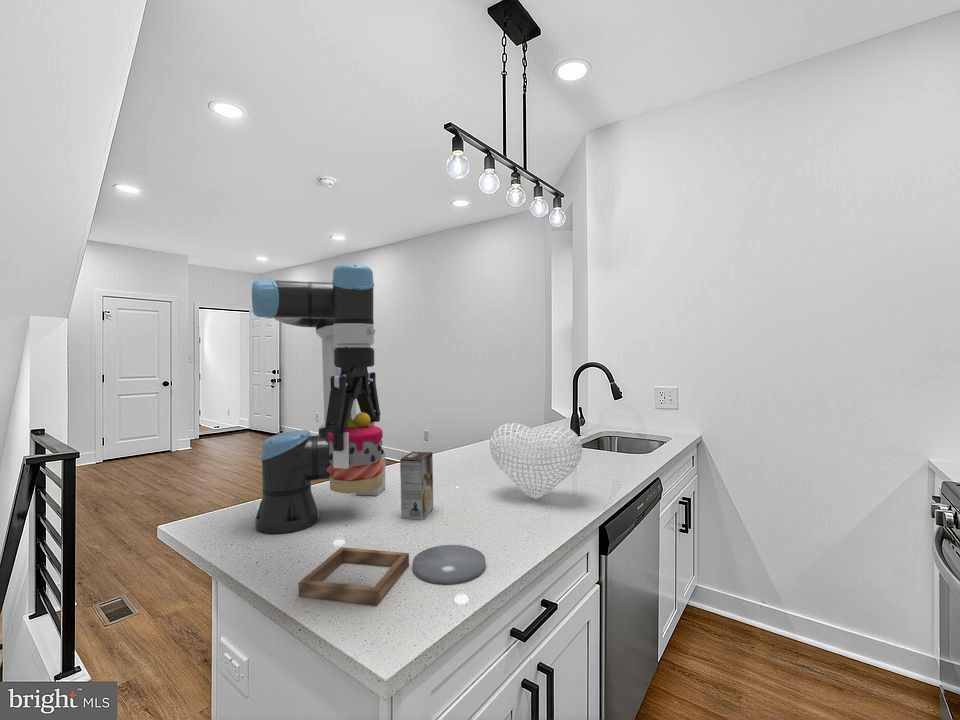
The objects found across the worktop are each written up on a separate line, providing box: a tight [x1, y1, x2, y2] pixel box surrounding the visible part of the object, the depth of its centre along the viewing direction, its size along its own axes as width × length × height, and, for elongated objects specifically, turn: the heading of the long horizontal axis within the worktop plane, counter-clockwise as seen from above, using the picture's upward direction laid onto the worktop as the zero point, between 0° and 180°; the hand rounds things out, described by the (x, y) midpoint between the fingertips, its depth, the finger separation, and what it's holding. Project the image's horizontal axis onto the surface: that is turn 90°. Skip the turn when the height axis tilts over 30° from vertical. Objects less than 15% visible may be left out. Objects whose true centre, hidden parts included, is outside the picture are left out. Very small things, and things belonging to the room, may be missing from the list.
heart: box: [489, 422, 583, 499], centre depth 138 cm, size 28×16×22 cm, turn 65°
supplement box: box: [354, 450, 386, 497], centre depth 145 cm, size 7×7×13 cm
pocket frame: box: [297, 546, 410, 606], centre depth 90 cm, size 15×15×2 cm
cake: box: [327, 411, 385, 494], centre depth 89 cm, size 10×11×15 cm
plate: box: [412, 544, 486, 585], centre depth 95 cm, size 15×15×1 cm
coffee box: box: [399, 451, 434, 521], centre depth 126 cm, size 9×6×16 cm
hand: (355, 460), depth 89 cm, fingers closed on cake, 10 cm apart
